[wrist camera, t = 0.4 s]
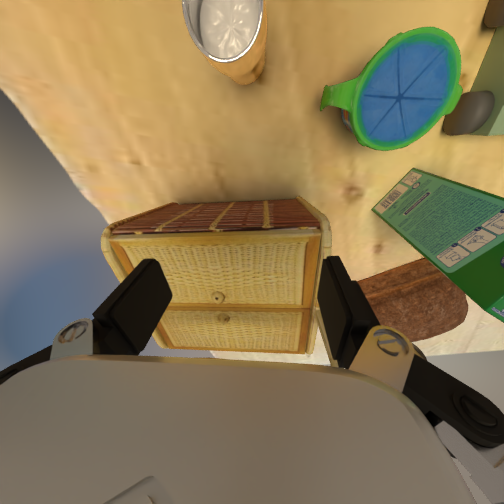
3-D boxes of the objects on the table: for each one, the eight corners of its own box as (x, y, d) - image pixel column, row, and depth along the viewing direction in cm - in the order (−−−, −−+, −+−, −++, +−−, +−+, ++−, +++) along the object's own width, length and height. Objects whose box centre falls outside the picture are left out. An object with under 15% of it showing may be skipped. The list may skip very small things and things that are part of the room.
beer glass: (274, 27, 26) (276, -58, 14) (262, 93, 30) (256, 74, 18) (222, 15, 26) (177, -83, 13) (218, 83, 30) (179, 56, 17)
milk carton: (446, 194, 36) (686, 294, 15) (402, 231, 40) (539, 346, 20) (413, 167, 34) (635, 240, 13) (371, 209, 38) (486, 312, 18)
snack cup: (440, 67, 27) (517, 42, 18) (396, 151, 33) (439, 162, 24) (329, 44, 26) (356, 8, 18) (305, 133, 32) (317, 138, 24)
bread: (446, 297, 50) (487, 338, 40) (333, 328, 61) (345, 367, 51) (436, 249, 42) (484, 286, 33) (310, 295, 53) (318, 332, 44)
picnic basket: (311, 177, 36) (398, 301, 11) (302, 281, 50) (331, 436, 26) (163, 186, 39) (-21, 296, 15) (194, 281, 54) (127, 418, 29)
